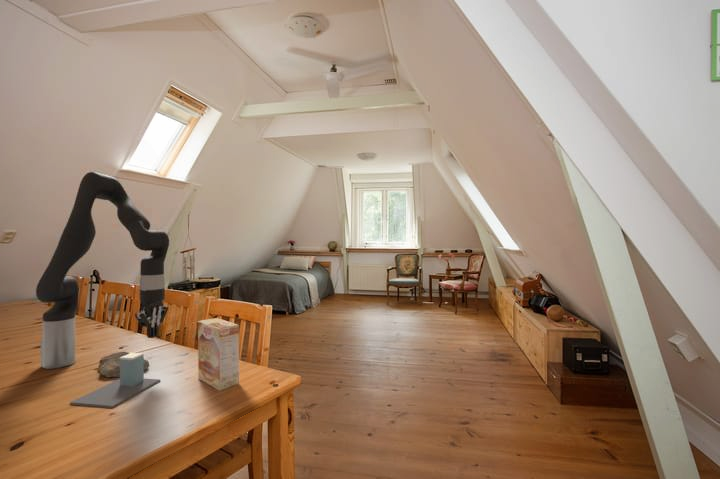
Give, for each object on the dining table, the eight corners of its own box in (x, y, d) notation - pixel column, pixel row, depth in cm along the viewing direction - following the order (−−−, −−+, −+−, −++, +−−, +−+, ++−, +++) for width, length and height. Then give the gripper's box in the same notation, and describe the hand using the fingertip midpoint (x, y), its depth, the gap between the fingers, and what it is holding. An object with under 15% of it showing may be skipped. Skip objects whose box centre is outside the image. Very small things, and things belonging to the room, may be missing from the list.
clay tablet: (93, 366, 127) (102, 381, 113) (93, 353, 127) (102, 366, 113) (137, 358, 137) (150, 370, 123) (137, 346, 137) (150, 357, 123)
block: (119, 385, 108) (119, 357, 108) (131, 379, 113) (131, 352, 113) (132, 386, 108) (132, 358, 108) (143, 380, 112) (143, 353, 112)
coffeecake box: (197, 378, 115) (197, 320, 115) (217, 372, 120) (217, 317, 120) (218, 391, 105) (218, 328, 105) (239, 384, 111) (239, 324, 111)
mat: (70, 404, 97) (70, 402, 97) (123, 378, 115) (123, 377, 115) (112, 408, 95) (112, 405, 95) (160, 381, 113) (160, 379, 113)
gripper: (157, 284, 126) (157, 331, 126) (126, 290, 113) (127, 342, 113) (175, 285, 125) (175, 332, 125) (147, 290, 112) (147, 343, 112)
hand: (152, 337), depth 119 cm, fingers closed
